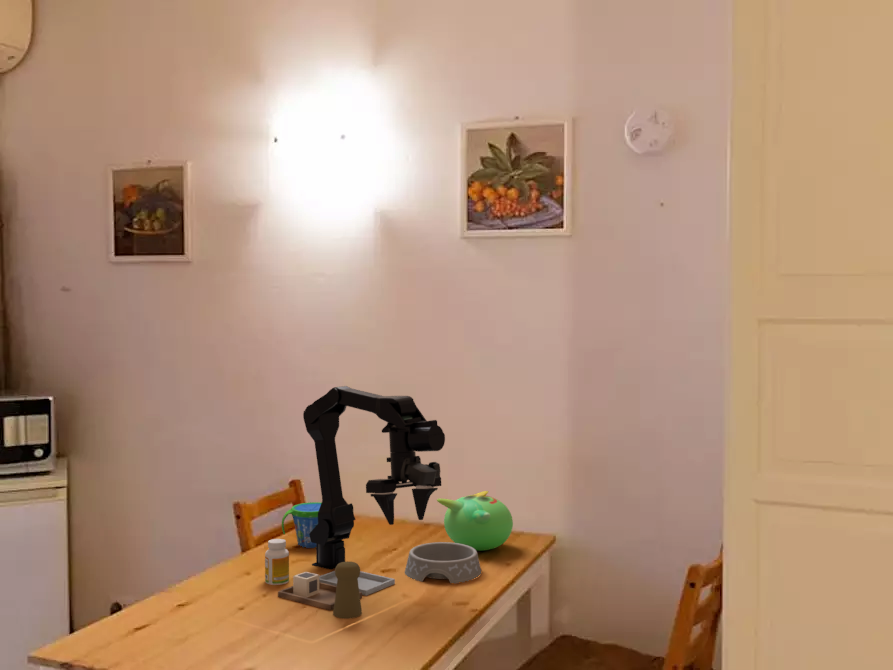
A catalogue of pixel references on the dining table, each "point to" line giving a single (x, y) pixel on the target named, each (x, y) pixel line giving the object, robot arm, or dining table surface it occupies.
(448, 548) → the dog bowl
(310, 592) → the beige and grey cube
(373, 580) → the grey tray
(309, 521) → the snack cup
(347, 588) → the brown rounded upright piece
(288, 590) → the walnut tray
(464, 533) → the green creature toy
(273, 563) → the supplement bottle
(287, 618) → the dining table surface
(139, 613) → the dining table surface
